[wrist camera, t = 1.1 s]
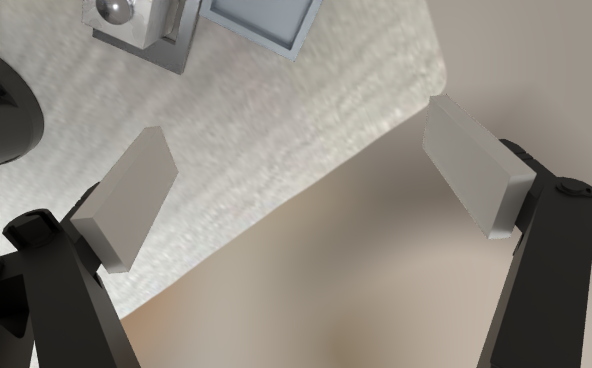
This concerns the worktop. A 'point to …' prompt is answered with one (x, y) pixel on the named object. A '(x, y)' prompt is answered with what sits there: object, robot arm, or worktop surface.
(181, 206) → the worktop surface
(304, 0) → the tray
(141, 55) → the grey slotted plate
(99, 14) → the grey knobbed block
